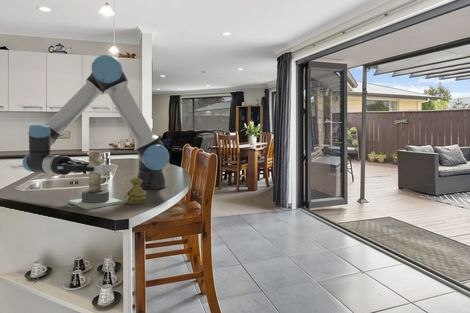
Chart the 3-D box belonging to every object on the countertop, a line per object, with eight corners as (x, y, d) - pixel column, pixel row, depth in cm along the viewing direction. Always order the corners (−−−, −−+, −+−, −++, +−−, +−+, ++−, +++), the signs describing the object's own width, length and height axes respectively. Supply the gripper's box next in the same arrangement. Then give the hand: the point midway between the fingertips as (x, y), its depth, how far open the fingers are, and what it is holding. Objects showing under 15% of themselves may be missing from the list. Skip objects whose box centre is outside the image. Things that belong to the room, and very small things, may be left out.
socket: (103, 197, 133) (103, 187, 132) (122, 203, 124) (122, 191, 124) (68, 203, 122) (68, 191, 121) (86, 209, 113) (86, 196, 113)
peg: (97, 191, 125) (97, 150, 124) (102, 192, 123) (103, 151, 122) (86, 192, 122) (86, 151, 121) (92, 194, 120) (92, 151, 118)
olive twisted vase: (140, 199, 131) (140, 175, 130) (149, 203, 126) (149, 178, 125) (123, 202, 126) (123, 177, 125) (131, 205, 121) (132, 179, 120)
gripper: (75, 172, 136) (121, 176, 129) (39, 176, 119) (89, 182, 112) (75, 154, 135) (121, 157, 128) (39, 157, 119) (89, 161, 112)
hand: (106, 169), depth 120 cm, fingers closed on peg, 4 cm apart
